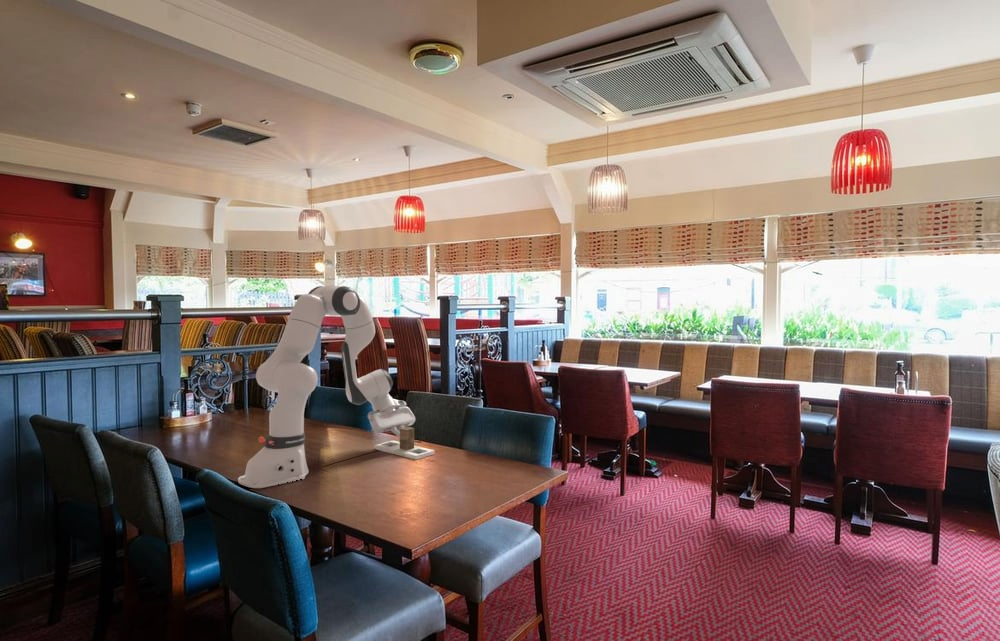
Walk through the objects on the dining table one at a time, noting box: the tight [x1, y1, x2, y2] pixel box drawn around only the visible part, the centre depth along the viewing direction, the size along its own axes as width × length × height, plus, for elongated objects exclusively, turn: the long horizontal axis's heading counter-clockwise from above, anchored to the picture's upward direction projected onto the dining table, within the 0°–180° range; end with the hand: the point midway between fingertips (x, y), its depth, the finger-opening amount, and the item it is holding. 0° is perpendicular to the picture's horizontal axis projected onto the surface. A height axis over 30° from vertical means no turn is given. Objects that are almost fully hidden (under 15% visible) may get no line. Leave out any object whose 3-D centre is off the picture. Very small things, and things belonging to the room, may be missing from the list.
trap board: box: [373, 439, 436, 461], centre depth 222 cm, size 10×24×2 cm, turn 52°
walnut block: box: [399, 426, 415, 450], centre depth 221 cm, size 4×4×8 cm
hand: (402, 436), depth 222 cm, fingers closed, pressing on walnut block
